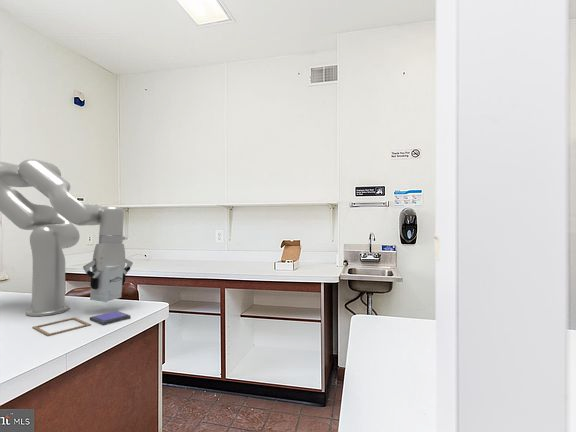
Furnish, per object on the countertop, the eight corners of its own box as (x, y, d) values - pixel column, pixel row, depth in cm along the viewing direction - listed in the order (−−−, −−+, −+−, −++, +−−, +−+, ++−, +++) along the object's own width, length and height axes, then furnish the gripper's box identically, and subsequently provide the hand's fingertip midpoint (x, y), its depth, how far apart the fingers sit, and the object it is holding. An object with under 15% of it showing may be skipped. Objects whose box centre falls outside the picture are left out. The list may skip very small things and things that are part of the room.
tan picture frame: (32, 328, 97) (32, 326, 97) (74, 318, 107) (74, 317, 107) (47, 336, 91) (47, 334, 91) (90, 325, 100) (90, 324, 100)
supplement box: (106, 302, 111) (109, 266, 111) (89, 300, 113) (91, 264, 113) (122, 297, 118) (124, 264, 118) (105, 295, 120) (107, 262, 120)
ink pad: (89, 320, 105) (89, 316, 105) (116, 313, 113) (116, 310, 113) (103, 325, 100) (103, 321, 100) (130, 318, 108) (130, 314, 108)
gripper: (128, 238, 125) (125, 282, 125) (80, 239, 110) (77, 288, 110) (138, 240, 121) (136, 285, 121) (90, 241, 106) (87, 292, 106)
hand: (108, 286), depth 115 cm, fingers closed on supplement box, 9 cm apart
